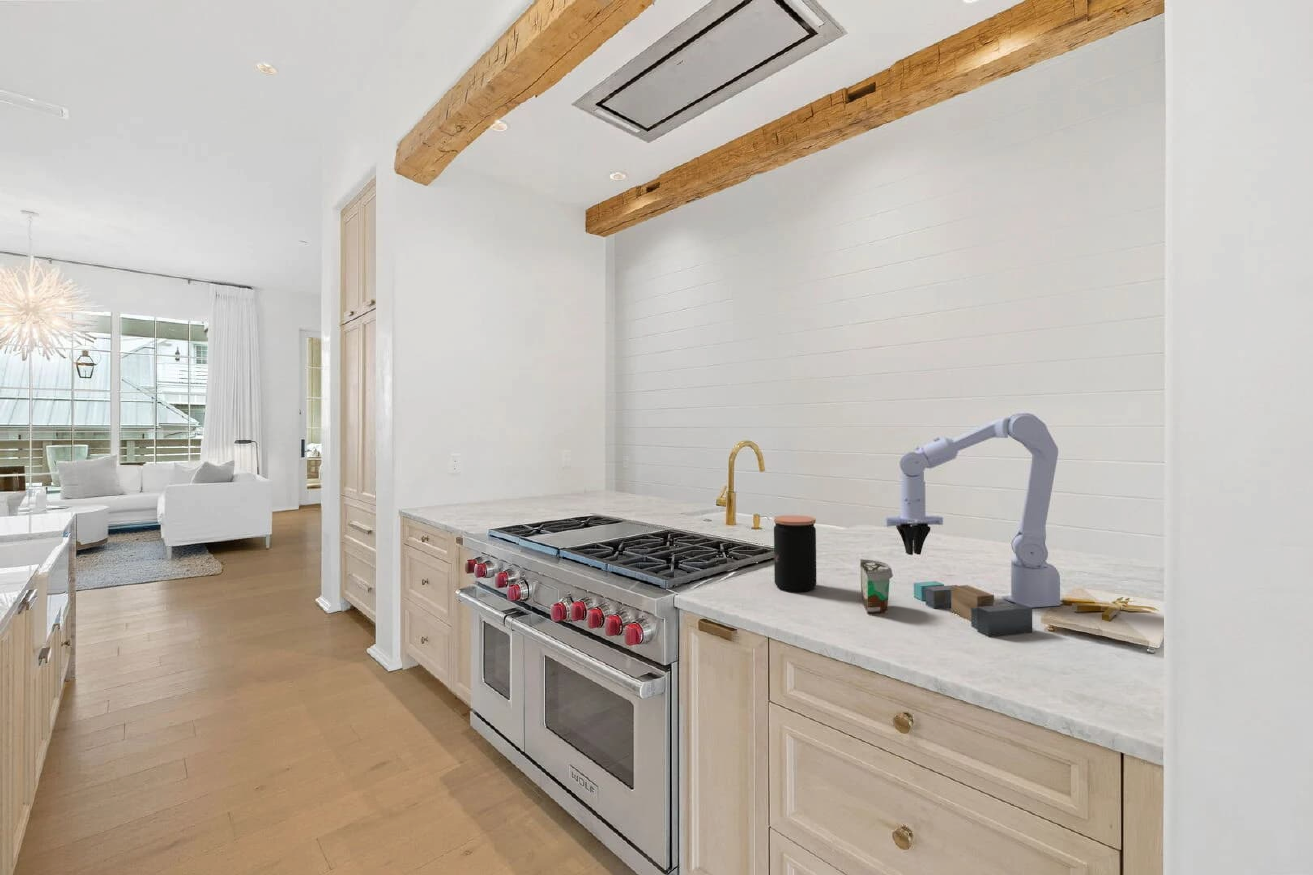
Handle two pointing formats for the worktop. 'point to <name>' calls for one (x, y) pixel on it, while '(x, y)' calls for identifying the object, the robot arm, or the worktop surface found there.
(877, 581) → the food container
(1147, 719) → the worktop surface
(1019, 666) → the worktop surface
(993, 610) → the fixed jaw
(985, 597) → the walnut block
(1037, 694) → the worktop surface
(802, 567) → the coffee jar
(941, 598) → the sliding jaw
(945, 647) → the worktop surface
